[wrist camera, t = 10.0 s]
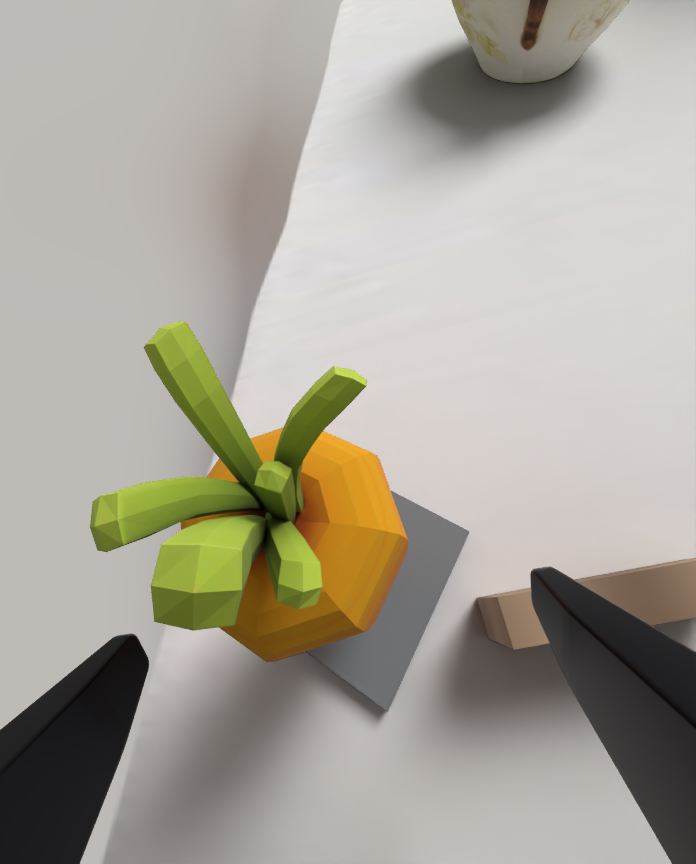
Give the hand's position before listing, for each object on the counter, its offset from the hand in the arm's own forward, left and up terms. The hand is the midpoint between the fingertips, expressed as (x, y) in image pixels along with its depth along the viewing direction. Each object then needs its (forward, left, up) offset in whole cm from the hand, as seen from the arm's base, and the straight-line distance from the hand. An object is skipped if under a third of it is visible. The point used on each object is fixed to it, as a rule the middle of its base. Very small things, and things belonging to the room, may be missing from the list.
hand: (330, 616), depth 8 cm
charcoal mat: (+1, +1, -10) cm, 10 cm away
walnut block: (+5, -8, -10) cm, 13 cm away
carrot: (+1, +1, -9) cm, 9 cm away
